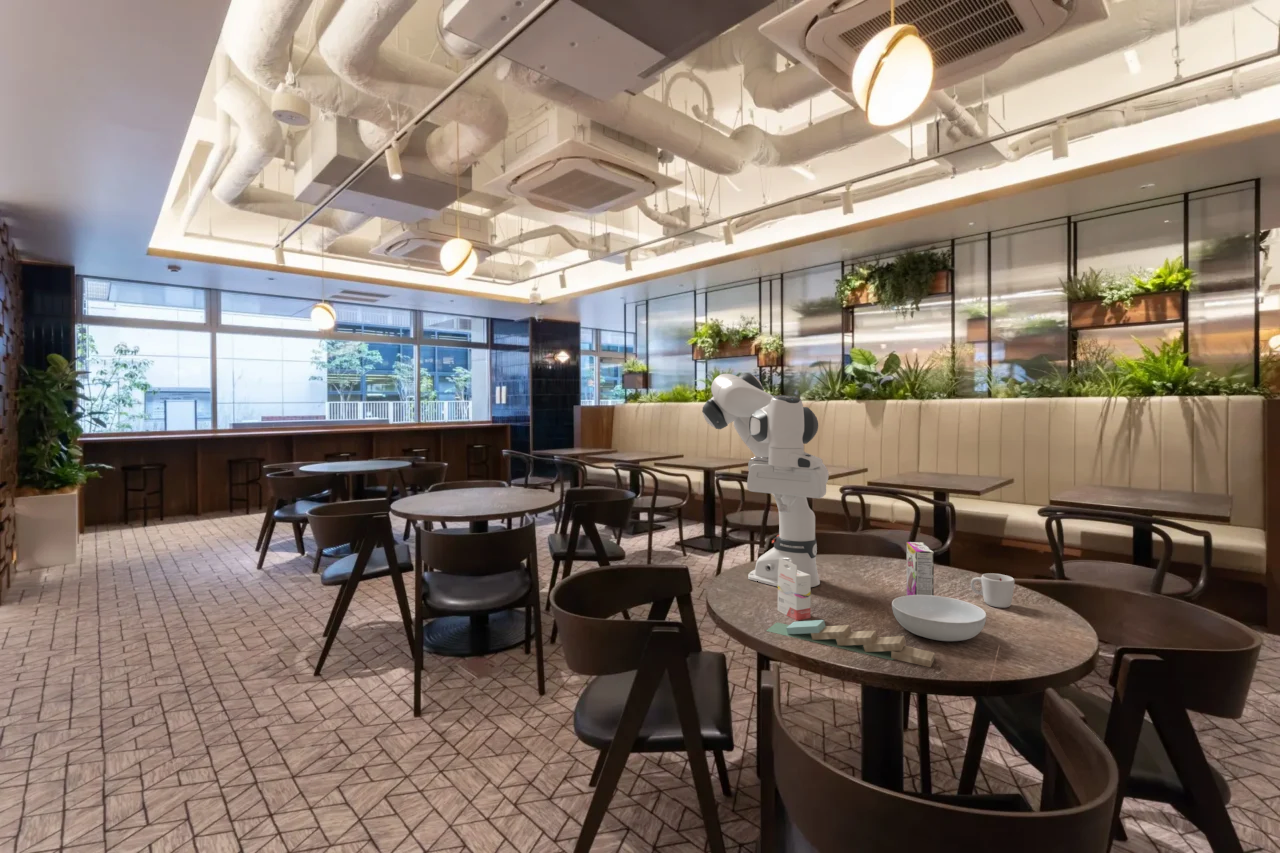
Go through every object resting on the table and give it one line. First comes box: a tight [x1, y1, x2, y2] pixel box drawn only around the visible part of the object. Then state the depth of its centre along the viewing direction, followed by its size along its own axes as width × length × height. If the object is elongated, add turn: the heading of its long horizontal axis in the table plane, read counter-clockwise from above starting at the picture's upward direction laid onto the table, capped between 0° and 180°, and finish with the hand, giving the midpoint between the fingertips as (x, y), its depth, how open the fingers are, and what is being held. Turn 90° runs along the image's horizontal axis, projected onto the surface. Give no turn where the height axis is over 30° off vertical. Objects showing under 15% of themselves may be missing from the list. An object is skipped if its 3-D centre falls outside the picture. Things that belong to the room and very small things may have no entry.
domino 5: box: [891, 644, 936, 668], centre depth 132 cm, size 2×5×8 cm
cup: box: [970, 572, 1016, 609], centre depth 168 cm, size 11×8×8 cm
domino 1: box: [786, 619, 826, 634], centre depth 146 cm, size 2×5×8 cm
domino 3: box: [836, 630, 878, 646], centre depth 139 cm, size 2×5×8 cm
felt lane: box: [765, 622, 895, 661], centre depth 143 cm, size 30×7×1 cm, turn 55°
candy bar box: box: [905, 541, 935, 596], centre depth 169 cm, size 11×5×16 cm, turn 168°
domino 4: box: [863, 635, 907, 652], centre depth 136 cm, size 2×5×8 cm
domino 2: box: [811, 624, 852, 640], centre depth 143 cm, size 2×5×8 cm
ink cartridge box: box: [777, 559, 812, 621], centre depth 160 cm, size 9×5×15 cm, turn 23°
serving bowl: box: [891, 594, 987, 642], centre depth 147 cm, size 21×21×7 cm
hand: (785, 511), depth 153 cm, fingers closed
